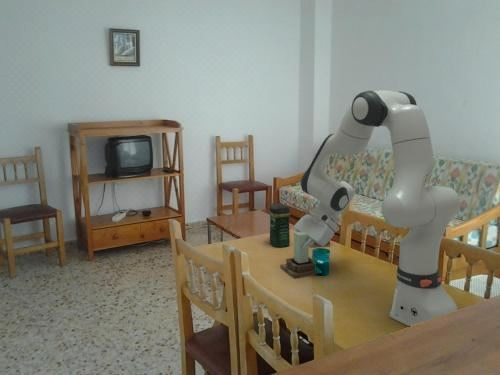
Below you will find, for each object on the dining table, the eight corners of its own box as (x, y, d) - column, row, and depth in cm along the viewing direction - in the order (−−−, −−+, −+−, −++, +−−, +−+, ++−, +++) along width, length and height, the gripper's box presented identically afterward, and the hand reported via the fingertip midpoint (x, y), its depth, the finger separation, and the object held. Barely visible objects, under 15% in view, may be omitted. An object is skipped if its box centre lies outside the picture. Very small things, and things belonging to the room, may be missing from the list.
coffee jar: (292, 246, 211) (292, 205, 207) (276, 248, 208) (275, 207, 205) (283, 240, 220) (283, 200, 216) (267, 242, 217) (266, 202, 213)
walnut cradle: (322, 273, 179) (323, 264, 179) (294, 278, 175) (294, 269, 174) (307, 263, 190) (307, 254, 190) (280, 267, 186) (280, 258, 185)
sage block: (308, 261, 181) (308, 234, 179) (298, 263, 180) (298, 235, 177) (303, 258, 185) (303, 231, 182) (294, 260, 183) (294, 232, 181)
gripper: (304, 207, 190) (282, 234, 189) (331, 220, 172) (307, 249, 170) (314, 216, 193) (292, 243, 191) (341, 230, 174) (318, 259, 173)
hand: (299, 246), depth 181 cm, fingers closed on sage block, 4 cm apart
